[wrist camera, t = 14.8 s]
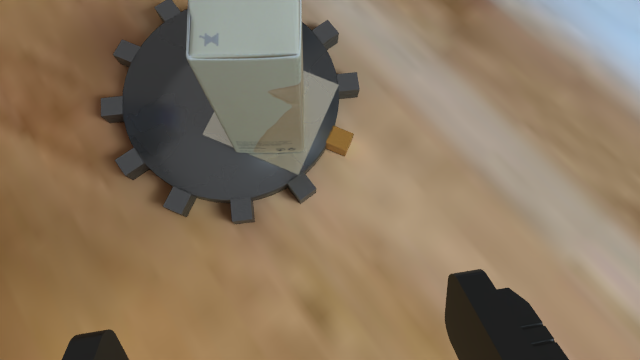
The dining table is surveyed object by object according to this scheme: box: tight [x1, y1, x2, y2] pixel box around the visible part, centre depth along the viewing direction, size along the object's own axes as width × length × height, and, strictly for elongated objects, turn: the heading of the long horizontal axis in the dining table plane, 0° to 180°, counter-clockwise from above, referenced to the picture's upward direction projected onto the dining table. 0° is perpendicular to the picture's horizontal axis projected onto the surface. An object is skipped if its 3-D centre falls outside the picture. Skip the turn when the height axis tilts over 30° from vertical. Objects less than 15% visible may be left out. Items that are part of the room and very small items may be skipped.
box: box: [186, 0, 304, 153], centre depth 21 cm, size 5×4×11 cm
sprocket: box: [101, 0, 359, 224], centre depth 28 cm, size 16×16×1 cm
